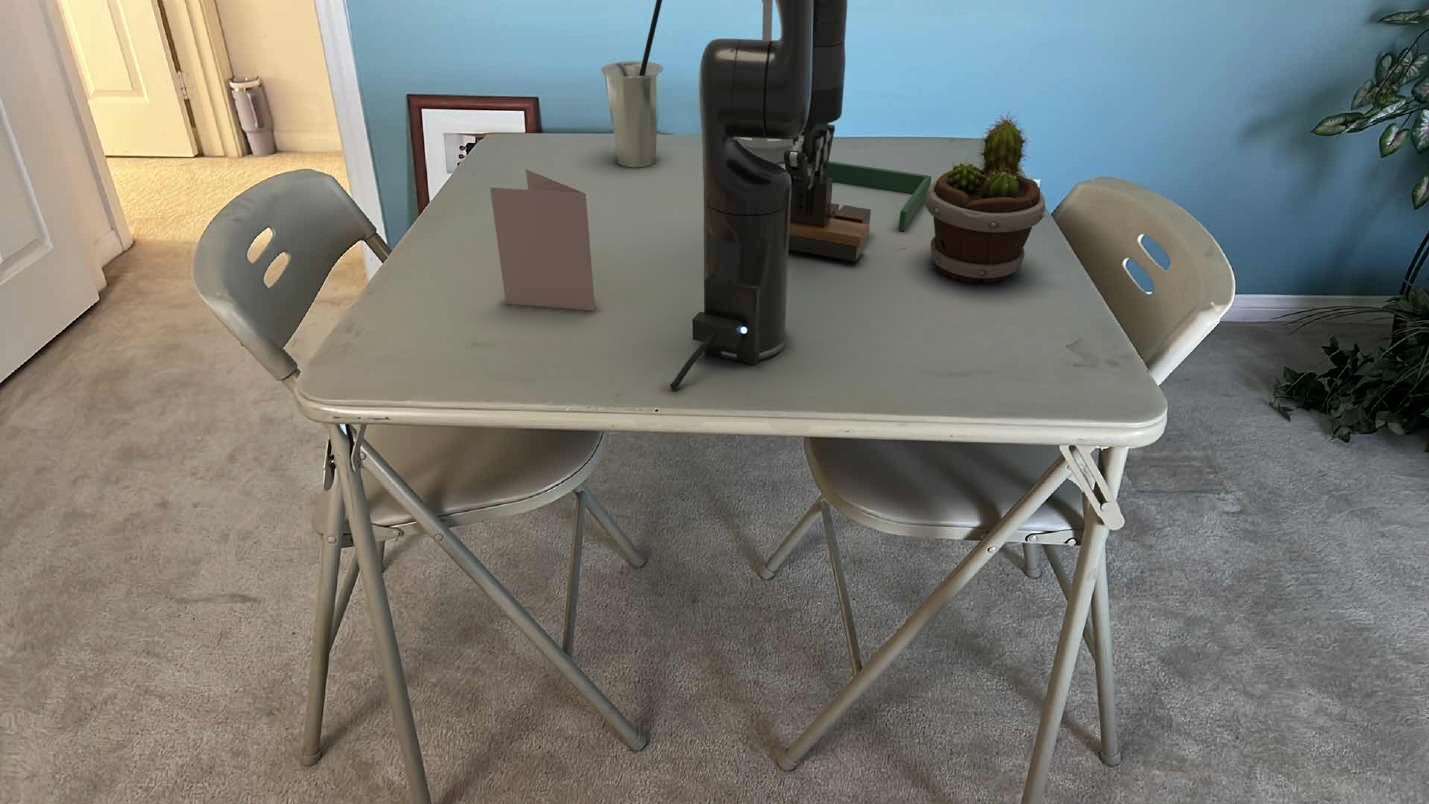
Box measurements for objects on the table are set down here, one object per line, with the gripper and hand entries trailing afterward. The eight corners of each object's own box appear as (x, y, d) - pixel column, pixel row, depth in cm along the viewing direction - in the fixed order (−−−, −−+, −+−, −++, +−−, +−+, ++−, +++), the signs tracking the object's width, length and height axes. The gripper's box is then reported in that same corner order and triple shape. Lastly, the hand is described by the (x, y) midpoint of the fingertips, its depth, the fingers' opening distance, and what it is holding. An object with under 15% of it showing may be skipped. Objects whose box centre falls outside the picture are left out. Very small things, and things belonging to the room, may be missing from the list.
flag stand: (811, 162, 159) (821, -31, 142) (736, 168, 156) (738, -27, 140) (789, 138, 169) (797, -44, 153) (719, 143, 167) (719, -41, 150)
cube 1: (860, 246, 130) (862, 219, 128) (832, 241, 132) (834, 214, 130) (868, 235, 133) (871, 209, 131) (841, 231, 135) (843, 204, 133)
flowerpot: (999, 305, 116) (1029, 145, 105) (894, 268, 124) (912, 117, 113) (1052, 267, 125) (1085, 117, 114) (951, 236, 133) (973, 93, 122)
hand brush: (857, 262, 124) (864, 193, 119) (741, 241, 130) (742, 174, 124) (867, 248, 128) (874, 181, 122) (754, 228, 133) (756, 163, 128)
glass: (675, 150, 164) (670, -37, 148) (666, 172, 155) (660, -25, 138) (614, 148, 165) (603, -38, 148) (602, 170, 156) (587, -26, 139)
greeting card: (600, 308, 115) (591, 191, 107) (551, 329, 111) (538, 209, 103) (544, 279, 122) (531, 167, 114) (496, 297, 118) (479, 182, 109)
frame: (903, 231, 135) (905, 211, 133) (763, 208, 142) (764, 189, 140) (929, 194, 147) (931, 175, 145) (798, 174, 154) (799, 156, 152)
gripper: (803, 62, 123) (797, 188, 133) (765, 89, 112) (761, 224, 122) (859, 68, 120) (848, 196, 130) (824, 96, 110) (816, 234, 119)
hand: (806, 209), depth 126 cm, fingers closed on hand brush, 2 cm apart
